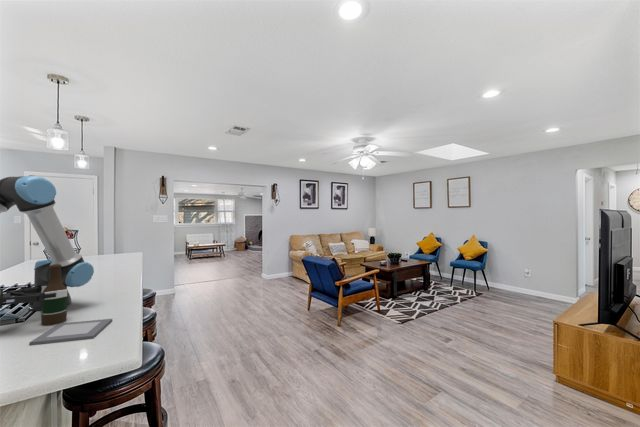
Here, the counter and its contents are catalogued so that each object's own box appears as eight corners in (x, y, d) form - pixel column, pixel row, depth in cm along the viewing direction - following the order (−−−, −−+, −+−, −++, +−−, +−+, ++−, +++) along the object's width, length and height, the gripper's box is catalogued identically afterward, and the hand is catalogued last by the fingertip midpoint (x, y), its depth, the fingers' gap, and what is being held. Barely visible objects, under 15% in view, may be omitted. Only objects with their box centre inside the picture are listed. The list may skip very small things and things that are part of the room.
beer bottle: (50, 326, 110) (52, 266, 111) (35, 325, 112) (37, 265, 112) (71, 319, 118) (73, 263, 118) (57, 318, 119) (58, 262, 120)
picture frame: (59, 325, 111) (59, 323, 111) (112, 320, 117) (112, 318, 117) (29, 345, 94) (29, 342, 94) (93, 338, 100) (93, 335, 100)
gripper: (-13, 303, 109) (60, 293, 125) (-16, 319, 93) (68, 305, 109) (-12, 284, 109) (61, 276, 125) (-15, 297, 93) (69, 285, 109)
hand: (64, 289), depth 117 cm, fingers open, 13 cm apart
